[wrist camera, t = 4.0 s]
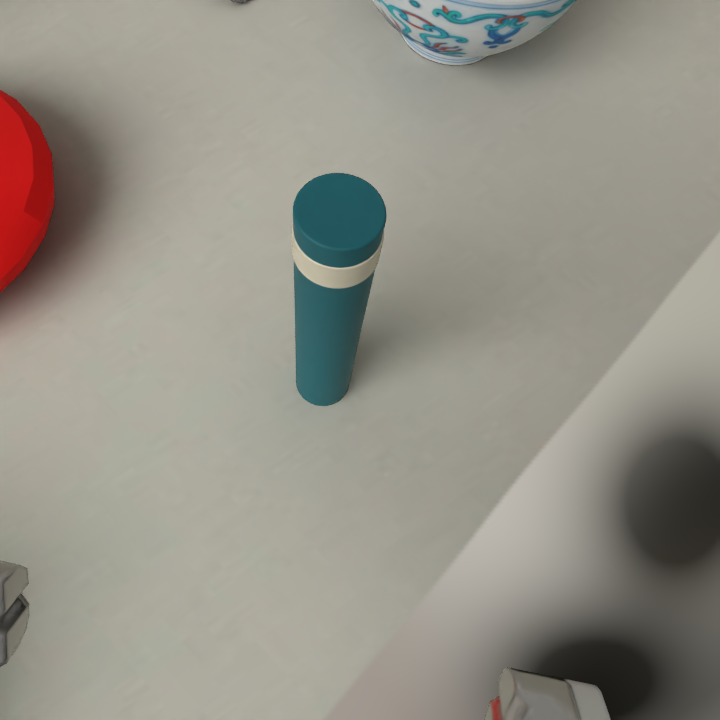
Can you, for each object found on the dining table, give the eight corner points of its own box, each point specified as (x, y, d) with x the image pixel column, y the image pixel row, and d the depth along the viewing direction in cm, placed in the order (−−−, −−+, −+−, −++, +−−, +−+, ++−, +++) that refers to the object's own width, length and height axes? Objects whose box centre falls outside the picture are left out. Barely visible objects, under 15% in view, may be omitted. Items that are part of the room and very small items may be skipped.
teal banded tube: (354, 401, 29) (398, 244, 16) (300, 412, 29) (300, 258, 16) (343, 352, 30) (376, 165, 17) (291, 360, 29) (283, 176, 17)
